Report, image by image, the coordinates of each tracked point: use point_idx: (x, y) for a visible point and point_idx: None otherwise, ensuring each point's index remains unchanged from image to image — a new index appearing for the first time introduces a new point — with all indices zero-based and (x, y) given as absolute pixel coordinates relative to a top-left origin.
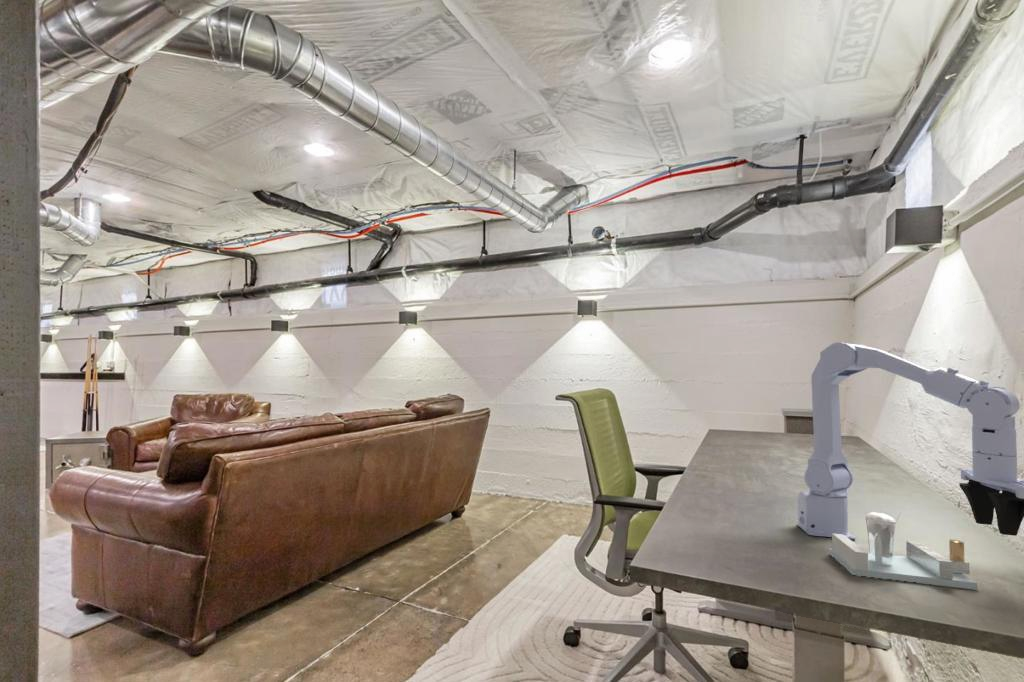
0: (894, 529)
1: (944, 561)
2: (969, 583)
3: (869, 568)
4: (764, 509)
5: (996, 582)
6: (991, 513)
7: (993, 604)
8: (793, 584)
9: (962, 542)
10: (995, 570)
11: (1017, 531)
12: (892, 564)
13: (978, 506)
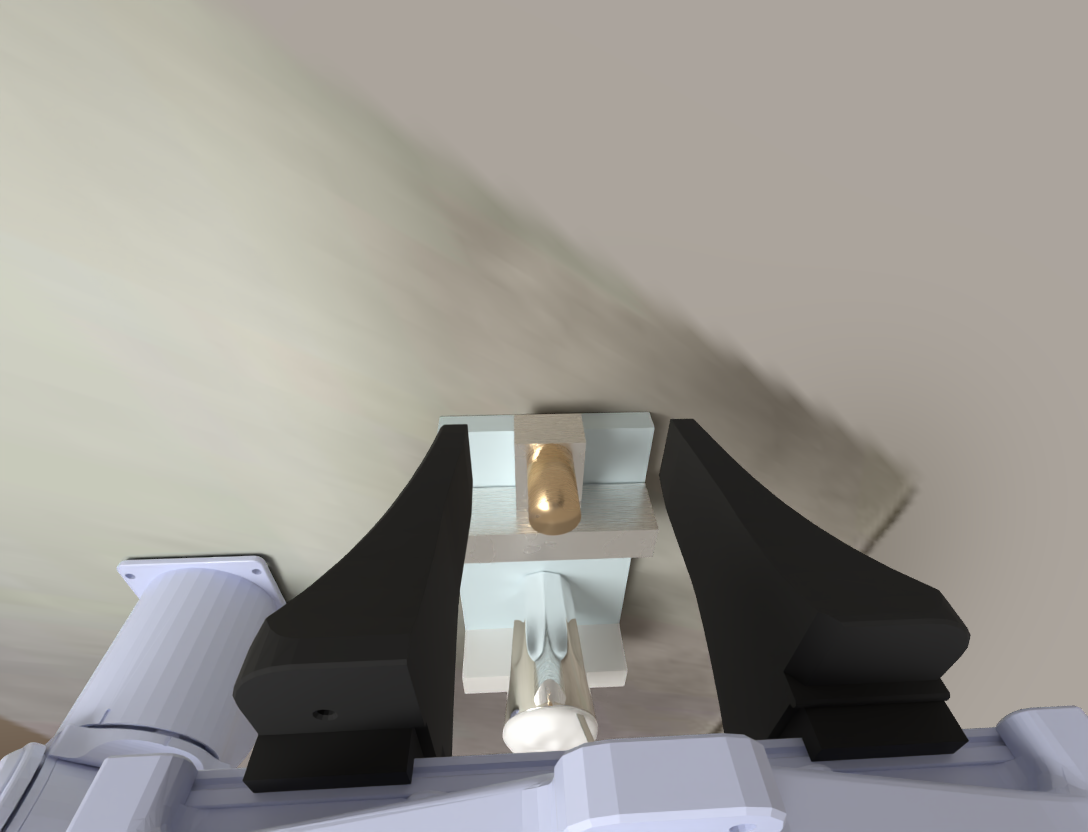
0: (578, 687)
1: (654, 545)
2: (650, 441)
3: (602, 617)
4: (43, 681)
5: (551, 300)
6: (458, 479)
7: (753, 425)
8: (684, 700)
9: (564, 505)
10: (374, 200)
11: (707, 435)
12: (551, 569)
13: (458, 574)
